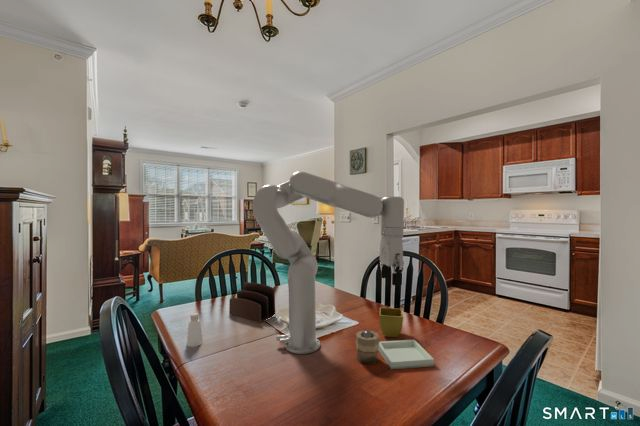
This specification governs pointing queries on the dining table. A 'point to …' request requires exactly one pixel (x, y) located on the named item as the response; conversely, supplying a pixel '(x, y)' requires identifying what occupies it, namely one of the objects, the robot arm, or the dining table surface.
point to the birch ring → (367, 342)
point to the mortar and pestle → (367, 353)
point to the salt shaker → (194, 331)
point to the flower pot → (391, 321)
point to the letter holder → (253, 302)
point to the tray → (404, 354)
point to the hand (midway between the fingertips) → (391, 281)
